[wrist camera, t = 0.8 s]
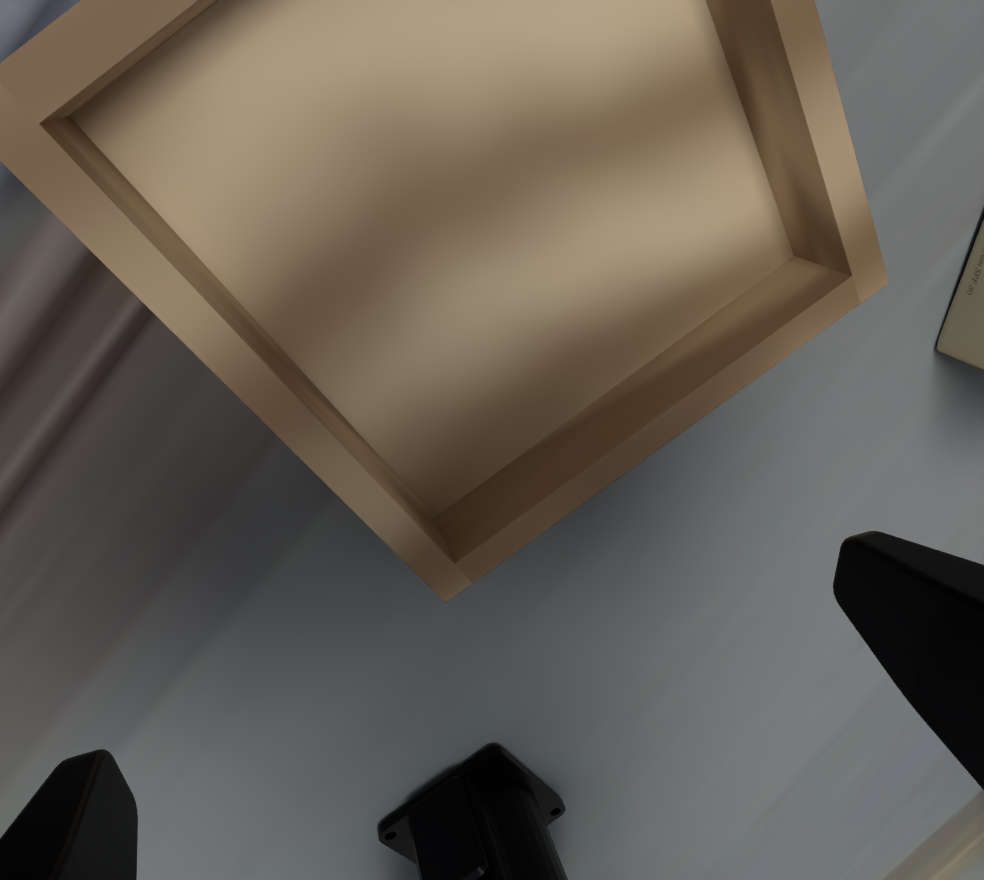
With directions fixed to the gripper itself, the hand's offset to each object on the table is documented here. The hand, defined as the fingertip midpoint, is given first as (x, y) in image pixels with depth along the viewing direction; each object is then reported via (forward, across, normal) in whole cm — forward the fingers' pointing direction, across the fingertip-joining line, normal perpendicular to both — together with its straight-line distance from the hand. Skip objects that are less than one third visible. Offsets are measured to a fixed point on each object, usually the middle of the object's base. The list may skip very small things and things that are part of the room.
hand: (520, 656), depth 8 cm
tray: (+14, -4, -3) cm, 14 cm away
